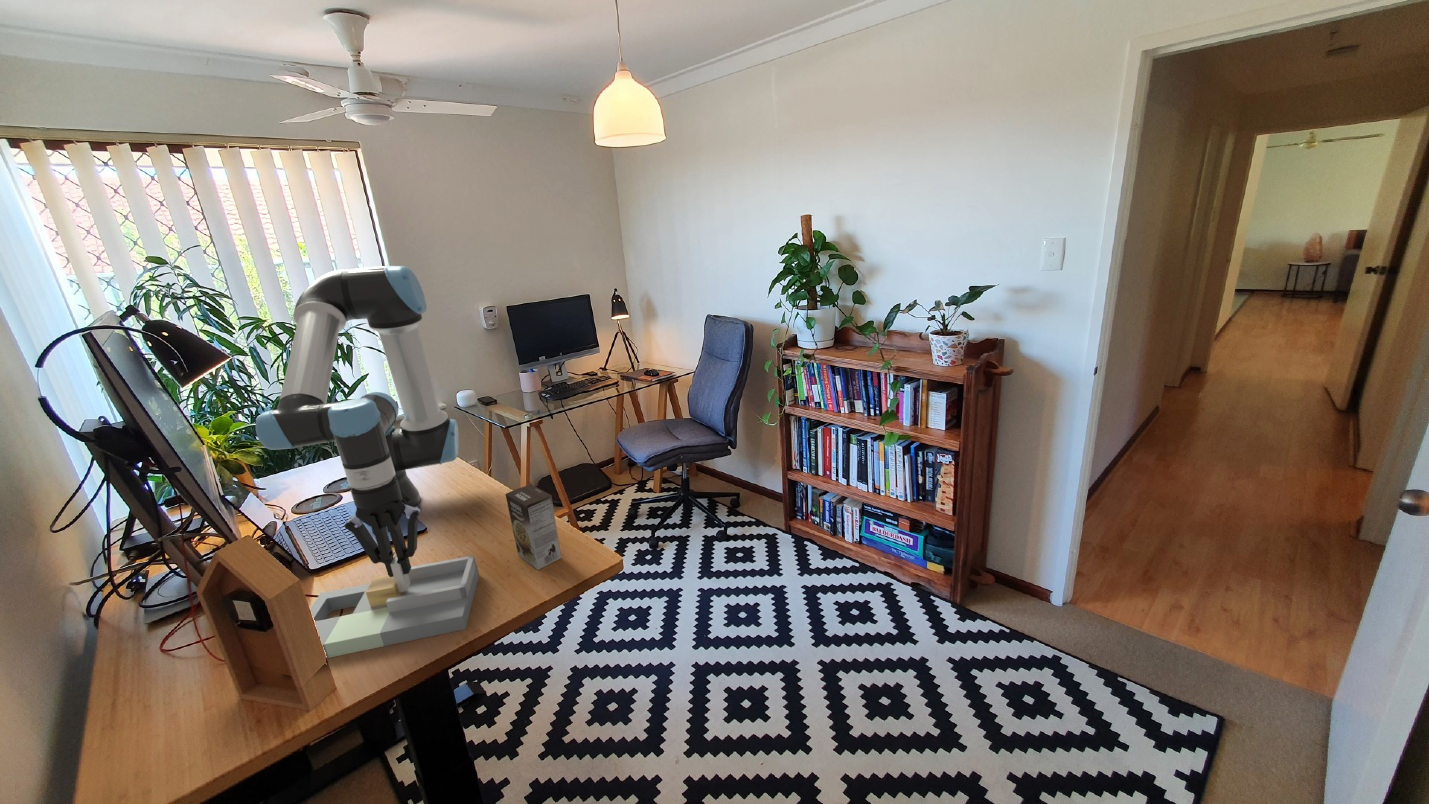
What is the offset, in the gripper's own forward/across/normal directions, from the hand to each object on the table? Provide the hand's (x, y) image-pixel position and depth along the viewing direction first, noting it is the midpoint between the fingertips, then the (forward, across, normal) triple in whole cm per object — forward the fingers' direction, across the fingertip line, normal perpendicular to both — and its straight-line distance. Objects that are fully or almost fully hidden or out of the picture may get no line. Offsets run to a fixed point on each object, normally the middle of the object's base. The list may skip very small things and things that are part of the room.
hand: (404, 587), depth 108 cm
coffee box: (+5, +25, +9) cm, 27 cm away
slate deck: (+4, -3, -2) cm, 6 cm away
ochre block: (+1, -3, 0) cm, 3 cm away
